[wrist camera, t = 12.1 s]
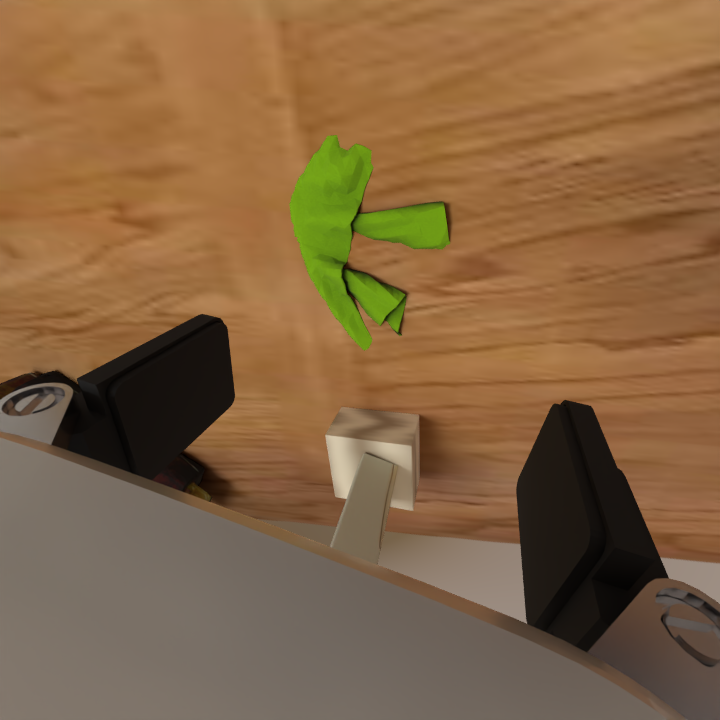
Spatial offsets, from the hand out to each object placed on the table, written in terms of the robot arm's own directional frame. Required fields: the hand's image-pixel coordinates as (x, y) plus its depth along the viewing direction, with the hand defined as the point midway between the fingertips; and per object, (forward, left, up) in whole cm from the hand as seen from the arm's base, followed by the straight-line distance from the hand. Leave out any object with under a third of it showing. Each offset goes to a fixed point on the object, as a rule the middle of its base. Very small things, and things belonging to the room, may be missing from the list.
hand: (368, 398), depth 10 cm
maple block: (+2, +26, -28) cm, 38 cm away
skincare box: (+2, +26, -22) cm, 34 cm away
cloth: (+6, +3, -28) cm, 29 cm away
